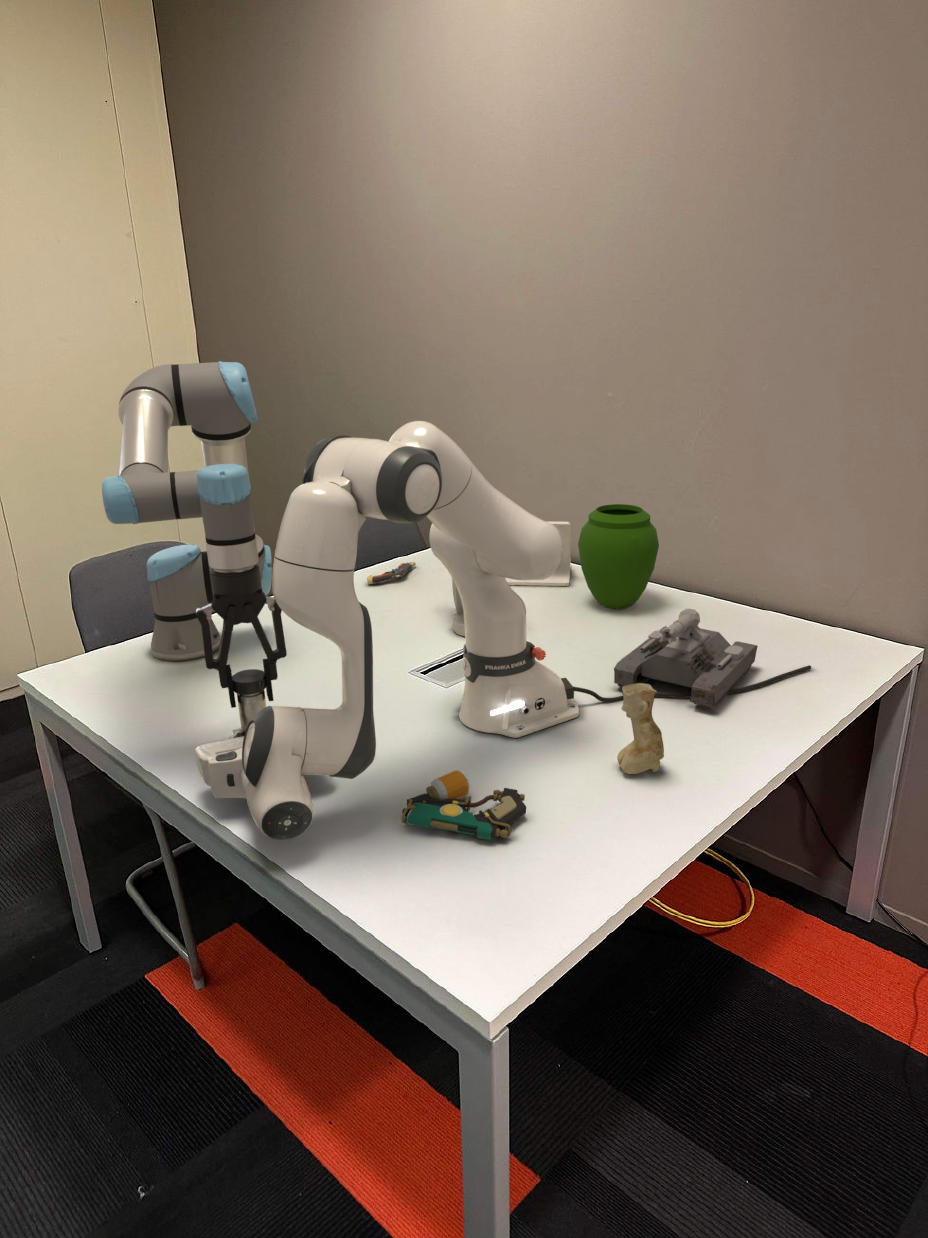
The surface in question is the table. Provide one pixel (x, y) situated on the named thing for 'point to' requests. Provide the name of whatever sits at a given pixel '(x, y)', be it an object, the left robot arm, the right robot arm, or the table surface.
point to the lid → (249, 681)
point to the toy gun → (391, 573)
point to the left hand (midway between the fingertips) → (251, 700)
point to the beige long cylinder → (250, 707)
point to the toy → (688, 660)
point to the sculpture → (641, 731)
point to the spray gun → (463, 808)
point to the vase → (618, 554)
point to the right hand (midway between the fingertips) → (254, 729)
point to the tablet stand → (563, 570)
